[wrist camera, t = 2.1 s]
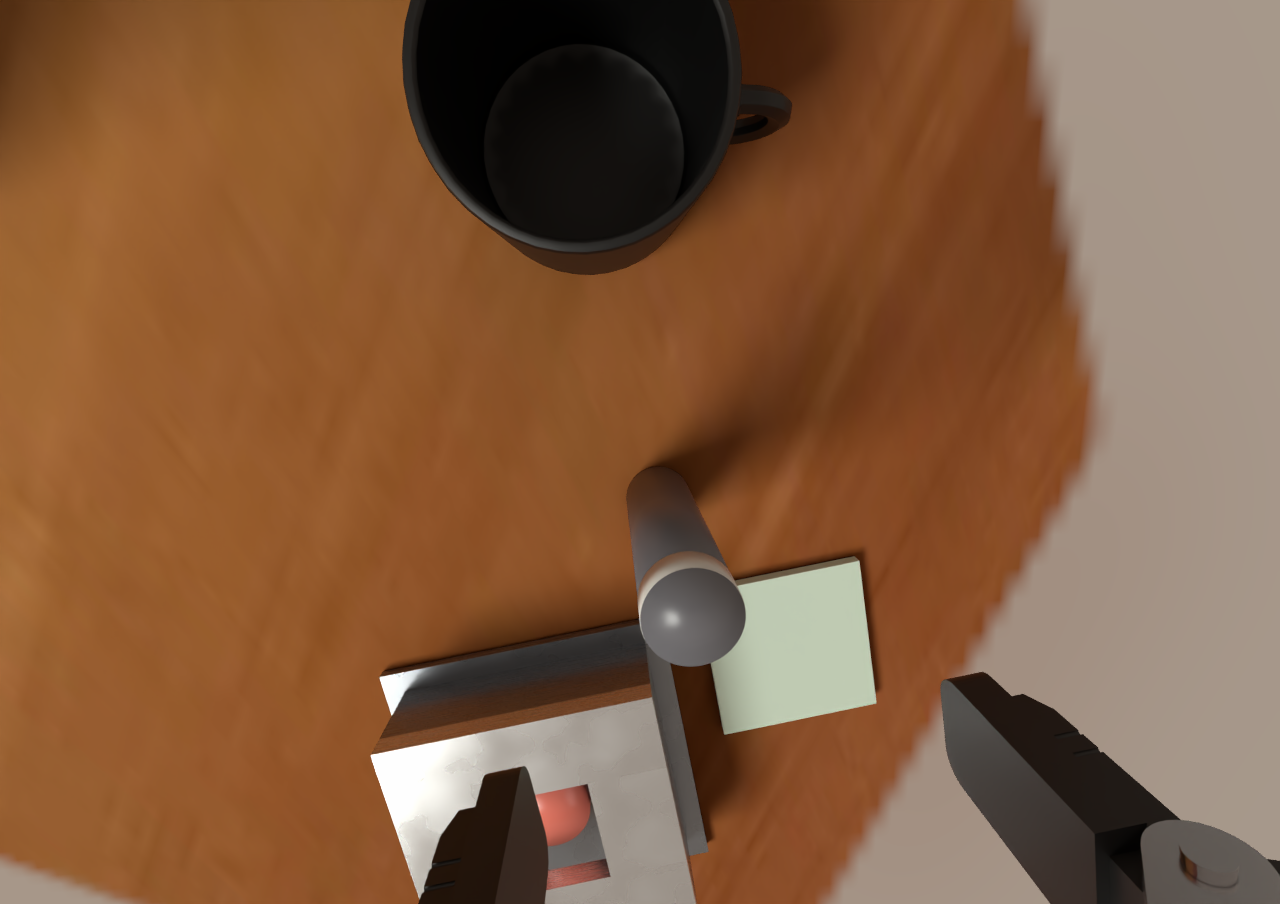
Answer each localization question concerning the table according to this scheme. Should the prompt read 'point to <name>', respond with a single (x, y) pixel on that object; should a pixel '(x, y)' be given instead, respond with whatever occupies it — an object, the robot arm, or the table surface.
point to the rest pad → (797, 648)
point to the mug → (580, 117)
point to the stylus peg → (680, 573)
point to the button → (564, 813)
